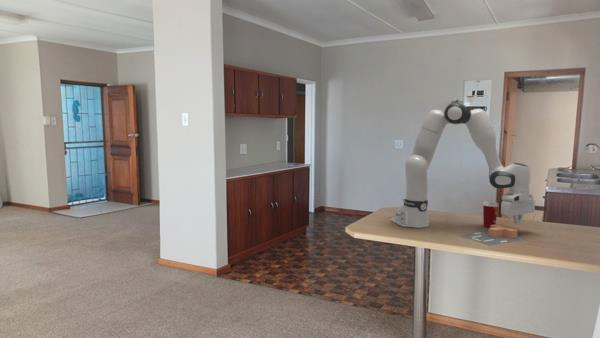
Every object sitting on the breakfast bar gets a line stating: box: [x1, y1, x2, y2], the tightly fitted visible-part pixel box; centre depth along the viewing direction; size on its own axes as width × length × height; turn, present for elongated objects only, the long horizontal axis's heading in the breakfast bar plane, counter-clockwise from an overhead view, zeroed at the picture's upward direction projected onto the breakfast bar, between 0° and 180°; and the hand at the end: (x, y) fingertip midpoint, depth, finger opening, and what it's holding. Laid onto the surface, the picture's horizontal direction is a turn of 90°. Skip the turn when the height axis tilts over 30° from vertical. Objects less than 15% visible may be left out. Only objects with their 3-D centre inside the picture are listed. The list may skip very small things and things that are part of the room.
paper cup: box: [482, 200, 499, 229], centre depth 216 cm, size 8×8×14 cm
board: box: [458, 230, 526, 246], centre depth 197 cm, size 18×25×1 cm
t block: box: [487, 223, 519, 239], centre depth 198 cm, size 12×10×4 cm
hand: (517, 223), depth 203 cm, fingers closed
